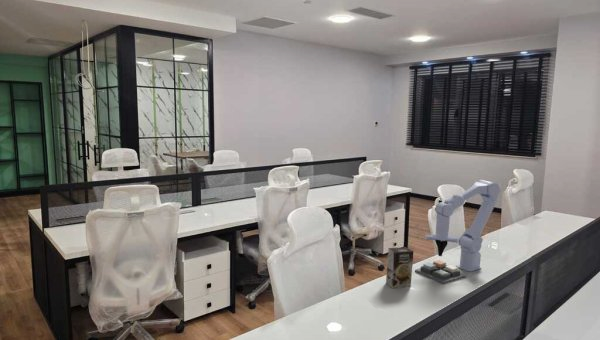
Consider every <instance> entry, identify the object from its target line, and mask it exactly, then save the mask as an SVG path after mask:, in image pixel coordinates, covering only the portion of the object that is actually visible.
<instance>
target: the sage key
mask: <svg viewBox="0 0 600 340" xmlns="http://www.w3.org/2000/svg"><path fill="white" fill-rule="evenodd" d="M435 273H438V274H440V275H446V274H448V273H447V272H445V271H443V270H438V271H435Z"/></svg>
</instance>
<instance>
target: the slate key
mask: <svg viewBox="0 0 600 340" xmlns="http://www.w3.org/2000/svg"><path fill="white" fill-rule="evenodd" d="M422 266H423V267H424V268H426V269H428V270H432V269H436V265H434V264H433V263H431V262H425V263H423V264H422Z"/></svg>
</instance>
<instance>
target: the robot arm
mask: <svg viewBox="0 0 600 340" xmlns="http://www.w3.org/2000/svg"><path fill="white" fill-rule="evenodd" d="M500 192H501V188H500V186H499V184H498V182H492V181H488V180H484V179H479V180H477V181H476V182H474V184H473V185H471V187H469V188H468V189H466V190H465V191H464V192H462V193H461V194H459V193H458V194H457V193H456V194H453V195H452V197H450V198H448V199H446V200H444V202H442V201H441V202H438V203H437V204H436V205H435V207H434V211H435V213H436V224H435V233H434V234H425V236H424V237H425V240H426V241H428V240H429V241H434V242H435V244H436V248H437V253H438V256H439V257H442V256H443V252H444V251H445V248H447V246H448V243H449V242H450V243H456V244H458V245H459V247H460V259H459V260H460V261H459V264H456V265H455V267H457V268H458V269H462V270H463V271H466V272H469V273H471V272H473V271H478V270H481V269H482V267H481V256H482V255H481V252H480V250H481V249H482V243H483V241H484V240H483V237H482V232H483V231H484V228H485V227H486V224H487V222H488V220H489V218H490V216H491V214H492V212H493V210H494V208H495V206H496V204H497V201H498V197H499V194H500ZM477 195H480V197H481V199H482V202H481V205H480V207H479V208H478V211H477V213H476V215H475V217H474V219H473V221H472V224H471V225H470V227H469V229H468V230H465V231H463V234H462V235H461V236H459V238H458V237H453V236H449V230H450V220H451V219H450V218H451V216H452V215H453V213H454V212H455V210H457V209H458V208H460V207H462V206H464V204H465V201H467V200H469V199H471V198H473V197H475V196H477Z"/></svg>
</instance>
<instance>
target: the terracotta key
mask: <svg viewBox="0 0 600 340" xmlns="http://www.w3.org/2000/svg"><path fill="white" fill-rule="evenodd" d="M432 262H433V263H432V264H434V265H436V266H438V267H444V266H446V265H447V263H446V262H445V261H442V260H434V261H432Z"/></svg>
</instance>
